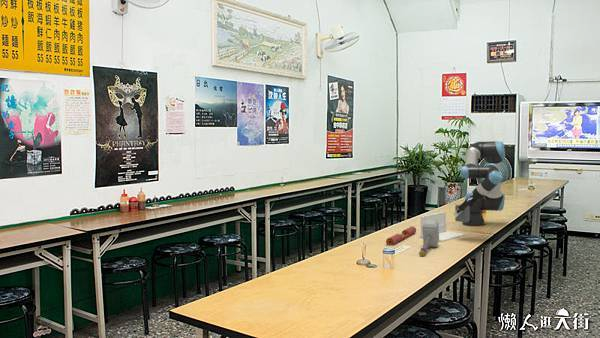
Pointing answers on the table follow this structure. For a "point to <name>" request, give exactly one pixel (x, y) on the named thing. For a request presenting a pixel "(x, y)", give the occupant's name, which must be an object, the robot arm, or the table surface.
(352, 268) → the table surface
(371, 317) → the table surface
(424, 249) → the grey angled piece
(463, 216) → the block
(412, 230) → the blood vessel
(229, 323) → the table surface
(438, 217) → the rail panel
